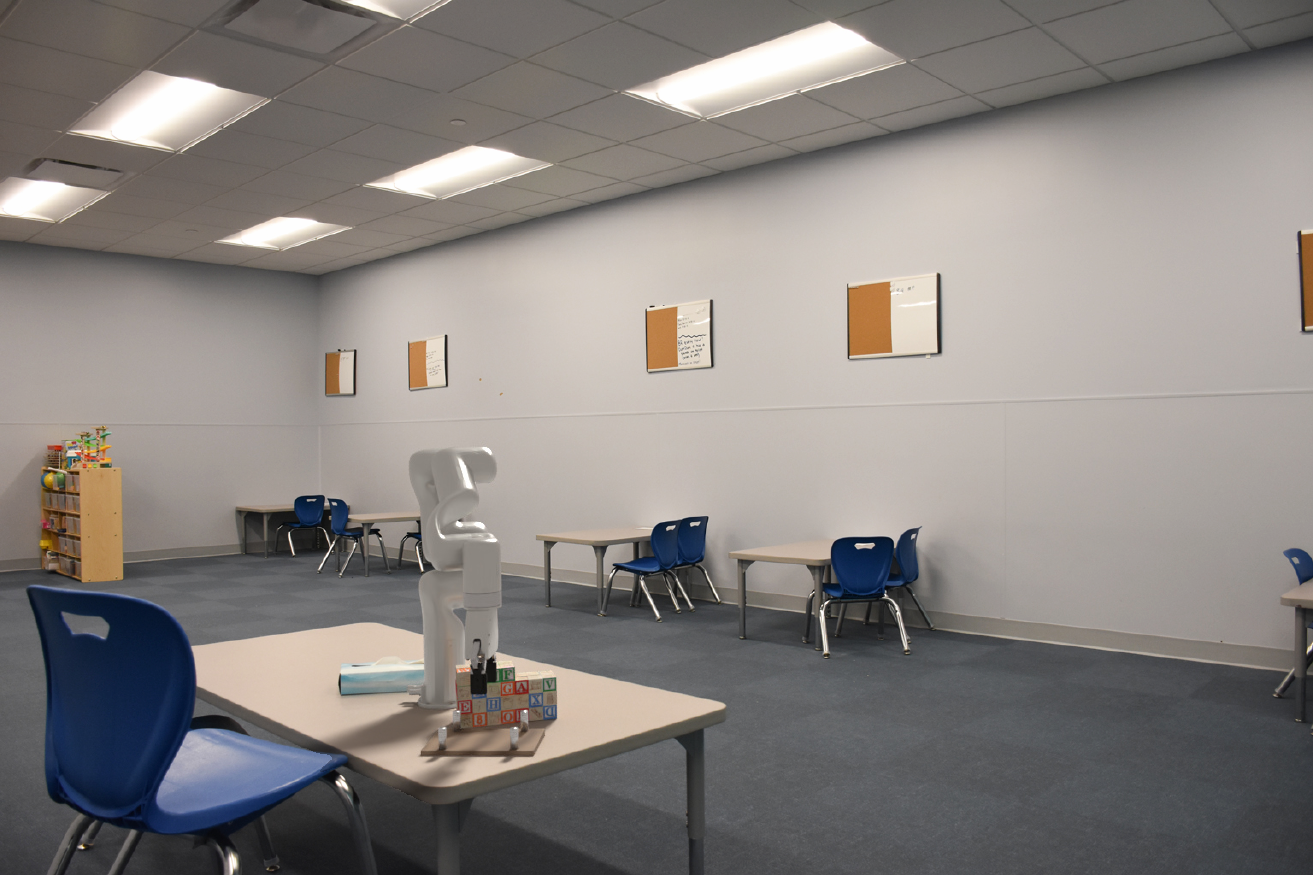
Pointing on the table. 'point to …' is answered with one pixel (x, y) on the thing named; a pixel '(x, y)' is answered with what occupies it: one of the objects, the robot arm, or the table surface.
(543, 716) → the stack of blocks
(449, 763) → the table surface
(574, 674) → the table surface
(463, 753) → the pin board
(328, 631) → the table surface
